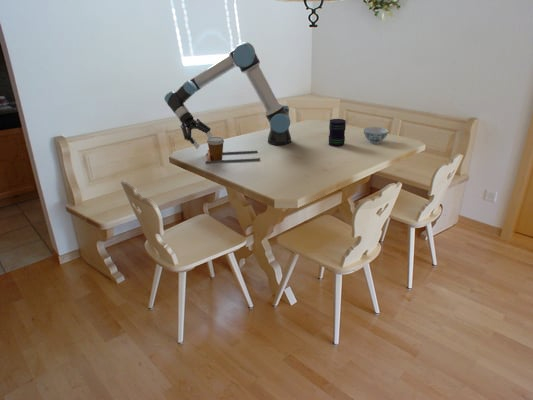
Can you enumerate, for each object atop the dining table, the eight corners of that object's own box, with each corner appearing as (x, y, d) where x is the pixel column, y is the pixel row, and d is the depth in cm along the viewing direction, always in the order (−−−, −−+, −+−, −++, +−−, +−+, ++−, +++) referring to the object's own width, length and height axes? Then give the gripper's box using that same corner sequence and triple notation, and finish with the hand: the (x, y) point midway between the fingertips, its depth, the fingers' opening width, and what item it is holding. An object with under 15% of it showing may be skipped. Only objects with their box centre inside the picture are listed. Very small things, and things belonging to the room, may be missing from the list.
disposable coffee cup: (222, 162, 217) (221, 141, 212) (205, 161, 218) (204, 140, 213) (226, 157, 225) (226, 137, 220) (210, 156, 227) (209, 136, 222)
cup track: (257, 152, 233) (257, 147, 232) (259, 160, 219) (259, 155, 218) (206, 154, 230) (206, 149, 229) (205, 163, 217) (205, 158, 215)
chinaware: (381, 147, 238) (382, 134, 235) (358, 143, 247) (359, 130, 243) (390, 141, 249) (392, 129, 246) (368, 137, 257) (369, 125, 254)
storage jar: (327, 146, 242) (328, 122, 235) (329, 141, 250) (330, 118, 244) (343, 147, 239) (345, 123, 233) (345, 142, 248) (347, 119, 241)
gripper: (196, 115, 240) (216, 142, 239) (165, 124, 222) (188, 153, 220) (201, 107, 236) (223, 135, 234) (171, 115, 217) (194, 146, 215)
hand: (206, 144), depth 227 cm, fingers open, 13 cm apart
